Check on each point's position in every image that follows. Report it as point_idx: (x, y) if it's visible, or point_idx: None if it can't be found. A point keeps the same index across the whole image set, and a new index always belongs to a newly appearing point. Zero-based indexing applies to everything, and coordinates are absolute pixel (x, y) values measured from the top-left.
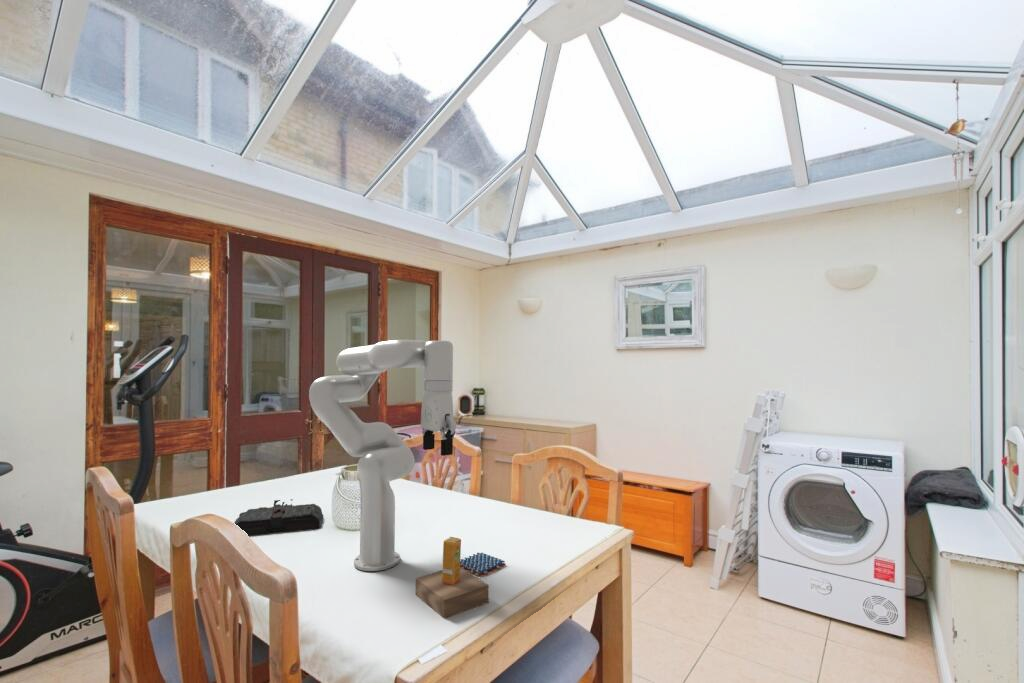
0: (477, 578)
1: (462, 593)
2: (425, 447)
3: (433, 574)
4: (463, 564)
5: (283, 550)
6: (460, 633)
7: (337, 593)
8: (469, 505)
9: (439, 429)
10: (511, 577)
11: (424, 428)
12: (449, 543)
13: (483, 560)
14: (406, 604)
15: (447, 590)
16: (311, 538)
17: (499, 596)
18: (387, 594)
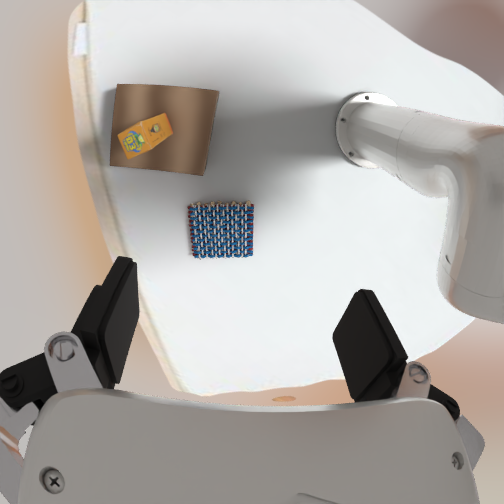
0: (138, 167)
1: (114, 117)
2: (359, 302)
3: (204, 121)
4: (234, 207)
5: (488, 95)
6: (86, 84)
7: (323, 22)
8: None
9: (46, 403)
10: (158, 234)
11: (380, 403)
12: (128, 128)
13: (221, 239)
14: (203, 64)
15: (137, 104)
16: None
17: (123, 182)
18: (256, 62)
